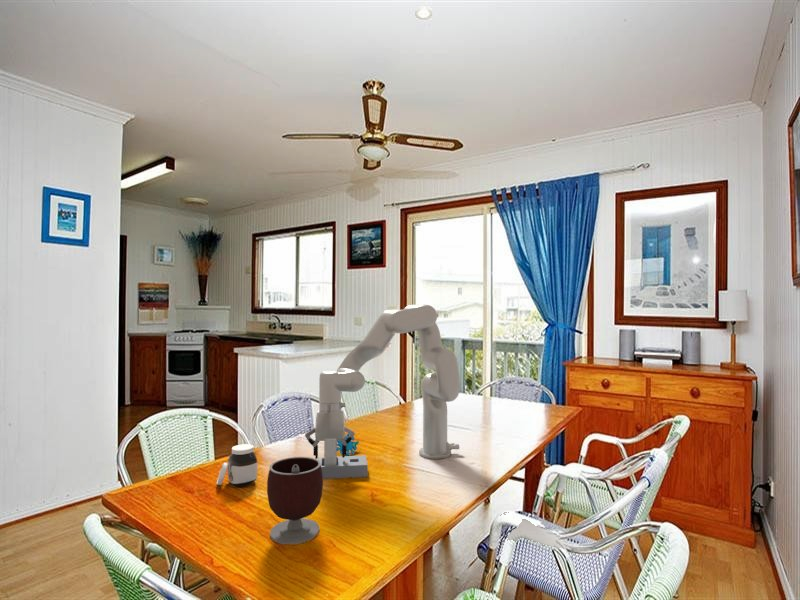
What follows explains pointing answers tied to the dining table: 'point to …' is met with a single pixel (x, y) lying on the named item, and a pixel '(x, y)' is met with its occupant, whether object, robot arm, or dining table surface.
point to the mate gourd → (294, 498)
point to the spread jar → (240, 466)
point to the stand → (345, 467)
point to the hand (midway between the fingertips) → (329, 456)
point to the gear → (348, 445)
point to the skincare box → (330, 452)
